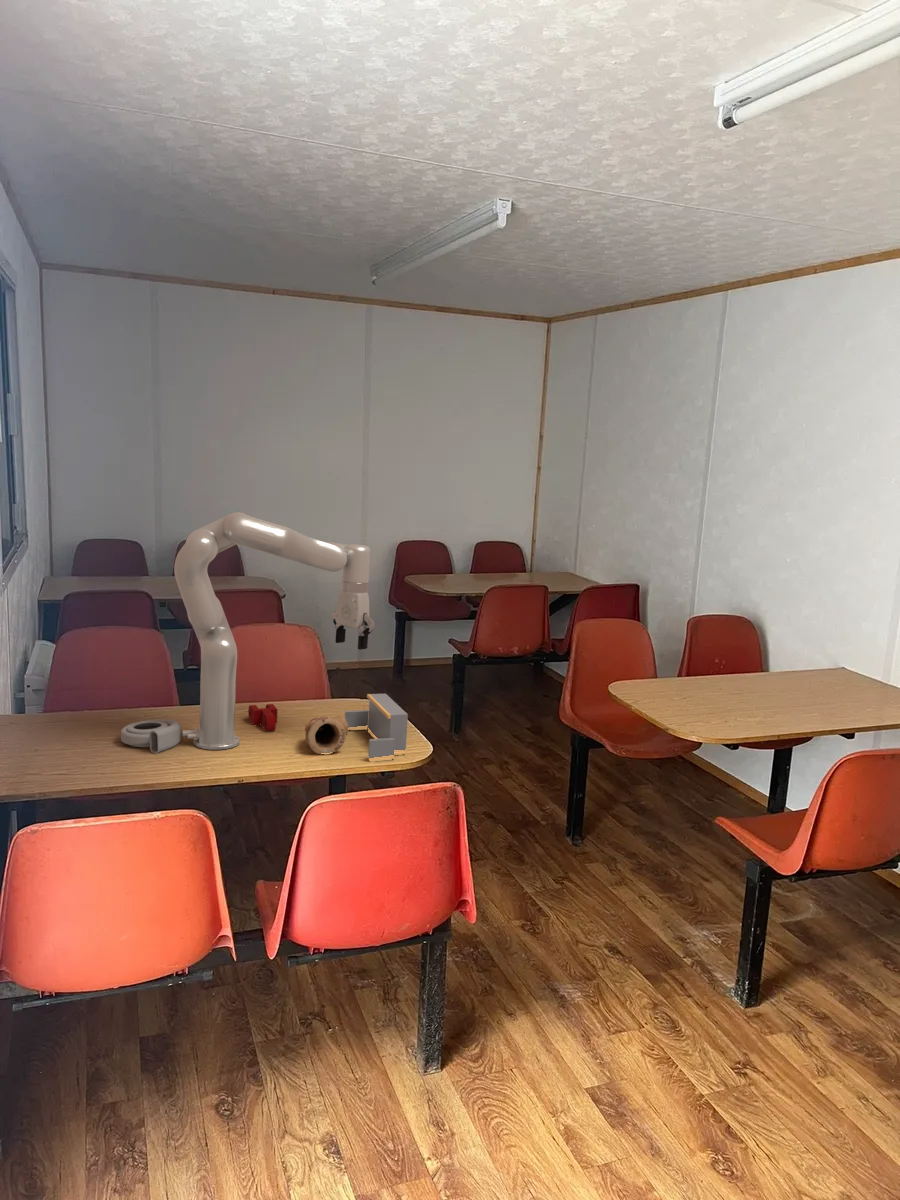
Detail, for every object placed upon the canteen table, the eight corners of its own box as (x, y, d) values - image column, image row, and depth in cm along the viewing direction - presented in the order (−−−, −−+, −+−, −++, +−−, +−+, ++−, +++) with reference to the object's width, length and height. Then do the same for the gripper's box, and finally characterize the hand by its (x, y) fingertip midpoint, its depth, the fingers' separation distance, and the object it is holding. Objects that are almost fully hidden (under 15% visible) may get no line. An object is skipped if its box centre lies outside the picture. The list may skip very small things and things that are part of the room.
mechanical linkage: (248, 718, 271) (248, 703, 270) (270, 717, 274) (271, 702, 273) (259, 734, 257) (259, 718, 256) (283, 732, 260) (283, 716, 259)
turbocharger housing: (151, 734, 254) (110, 747, 240) (150, 712, 253) (109, 724, 240) (195, 742, 246) (154, 756, 233) (194, 719, 245) (154, 732, 232)
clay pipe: (289, 760, 247) (322, 758, 237) (282, 723, 247) (315, 719, 237) (340, 745, 261) (373, 743, 251) (333, 710, 261) (366, 706, 251)
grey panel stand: (369, 761, 239) (371, 719, 237) (344, 729, 266) (345, 691, 264) (409, 759, 243) (411, 718, 241) (380, 727, 270) (382, 690, 268)
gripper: (325, 583, 253) (321, 641, 256) (365, 592, 242) (361, 653, 244) (344, 582, 259) (341, 638, 261) (385, 591, 247) (381, 650, 250)
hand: (351, 645), depth 253 cm, fingers open, 9 cm apart
